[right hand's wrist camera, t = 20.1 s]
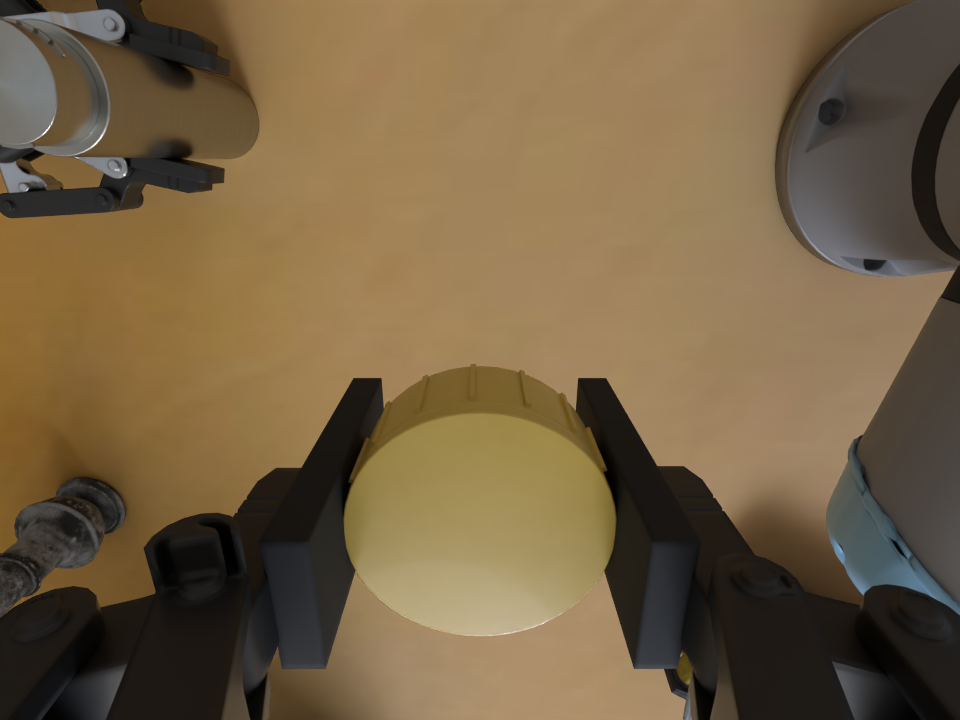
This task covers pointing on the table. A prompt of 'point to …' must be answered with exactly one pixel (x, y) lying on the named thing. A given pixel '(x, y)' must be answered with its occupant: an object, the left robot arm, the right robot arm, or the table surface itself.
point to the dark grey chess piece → (57, 536)
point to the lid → (479, 504)
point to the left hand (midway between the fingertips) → (218, 122)
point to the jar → (113, 99)
